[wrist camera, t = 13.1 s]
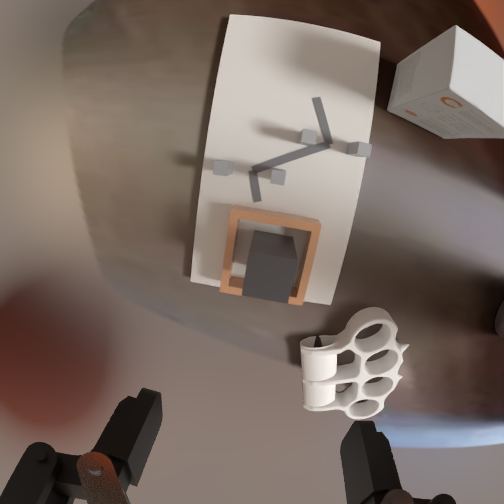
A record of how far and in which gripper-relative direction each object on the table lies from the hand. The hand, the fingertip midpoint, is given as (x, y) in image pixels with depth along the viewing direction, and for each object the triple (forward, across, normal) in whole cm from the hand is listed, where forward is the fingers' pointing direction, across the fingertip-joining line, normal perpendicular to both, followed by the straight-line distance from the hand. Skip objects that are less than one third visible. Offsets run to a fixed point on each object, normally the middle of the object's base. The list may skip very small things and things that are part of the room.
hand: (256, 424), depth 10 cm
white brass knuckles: (+24, -14, +14) cm, 31 cm away
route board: (+23, 0, -10) cm, 25 cm away
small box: (+23, -14, -20) cm, 34 cm away
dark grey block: (+22, 0, 0) cm, 22 cm away
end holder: (+23, 0, 0) cm, 23 cm away
